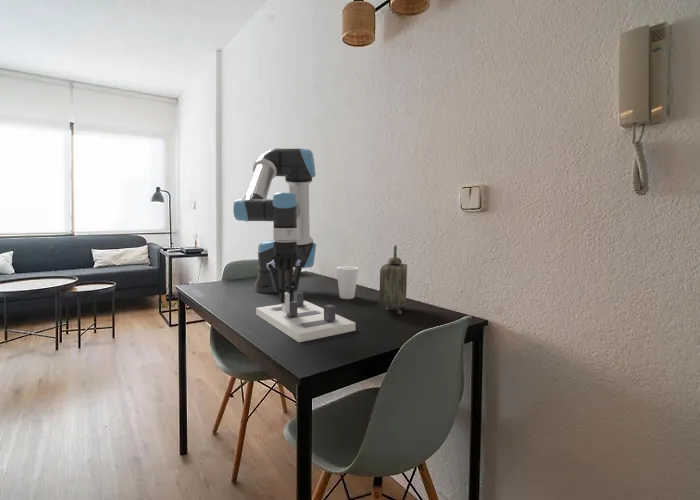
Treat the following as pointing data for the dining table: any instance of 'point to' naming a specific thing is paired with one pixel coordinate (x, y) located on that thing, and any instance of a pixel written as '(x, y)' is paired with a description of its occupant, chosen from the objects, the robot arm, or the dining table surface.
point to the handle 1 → (298, 298)
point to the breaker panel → (305, 322)
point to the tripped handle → (293, 309)
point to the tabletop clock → (393, 282)
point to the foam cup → (347, 281)
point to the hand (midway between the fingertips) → (285, 312)
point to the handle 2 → (329, 312)
